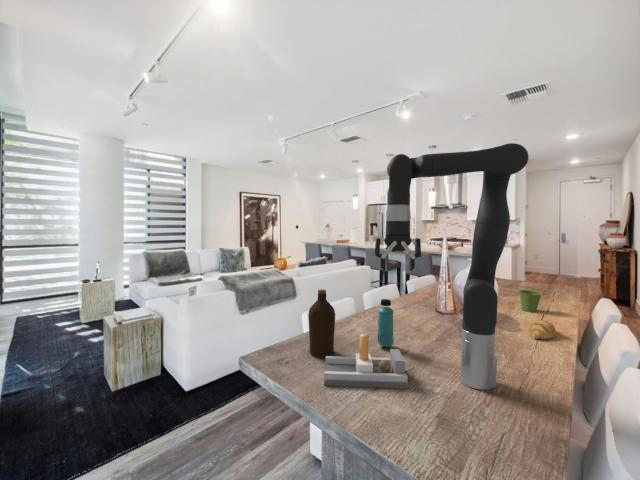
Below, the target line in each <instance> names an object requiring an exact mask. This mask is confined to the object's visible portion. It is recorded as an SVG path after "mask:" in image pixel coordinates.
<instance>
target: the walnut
mask: <svg viewBox="0 0 640 480" xmlns="http://www.w3.org/2000/svg"><path fill="white" fill-rule="evenodd" d="M379 369H380V370H381V371H382V372H384V373H387V372H389V371H390V369H391V364H390V362H389V361H387V360H382V361H380V363H379Z"/></svg>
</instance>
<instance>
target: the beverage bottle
mask: <svg viewBox="0 0 640 480" xmlns="http://www.w3.org/2000/svg"><path fill="white" fill-rule="evenodd" d="M380 305H381V307H379V308H378V309H377V312H378V313H377V317H378V318H377V344H378V345H379V346H381V347H384V348H385V347H386V348H387V347H388V348H389V347H393V344H394V335H395V334H394V310H393V309H392V307H390V306H391V305H392V302H391V300H390V299H388V298H383V299H381V300H380Z"/></svg>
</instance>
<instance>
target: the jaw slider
mask: <svg viewBox="0 0 640 480" xmlns="http://www.w3.org/2000/svg"><path fill="white" fill-rule="evenodd" d="M369 337H370V335H369V334H367V333H360V334H359V352H355V357H356V362H355V364H356V372H366V373H373V363H372V359H371V357H372V356H371V353H369V348H370V347H369V344H370V343H369V342H370V341H369V340H370V339H369Z"/></svg>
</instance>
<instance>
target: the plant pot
mask: <svg viewBox="0 0 640 480" xmlns="http://www.w3.org/2000/svg"><path fill="white" fill-rule="evenodd" d="M518 292H519V296H520V306H521V310H522V311H525V312H527V313H536V312H537V311H538V308H539V304H540V299H541V298H542V295H543V293H542V292H540V291H535V290H529V289H528V290H527V289H520V290H518Z"/></svg>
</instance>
